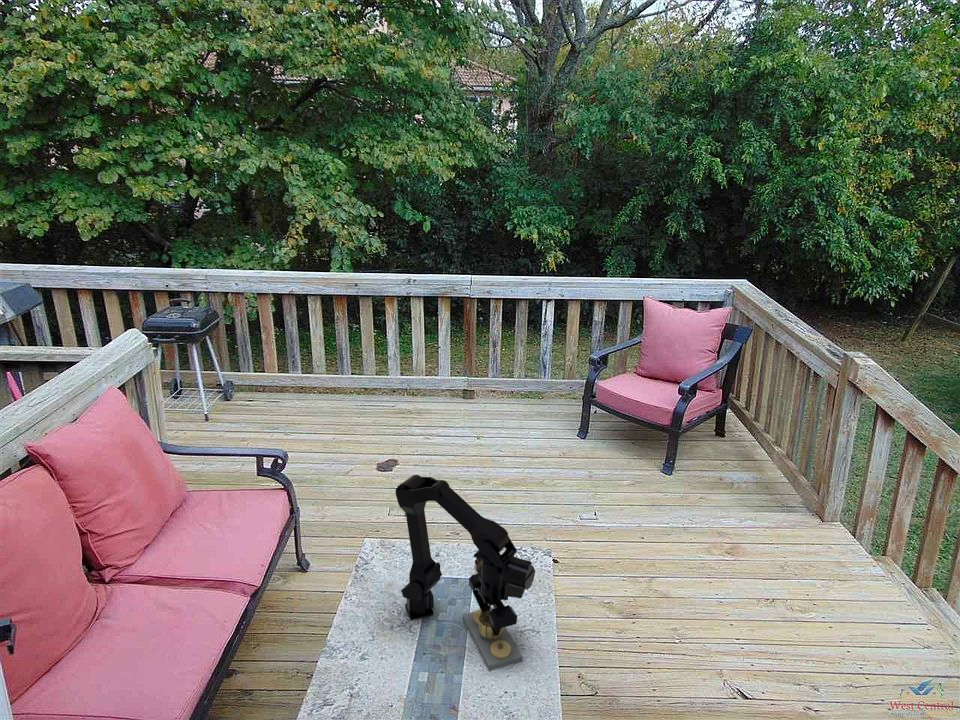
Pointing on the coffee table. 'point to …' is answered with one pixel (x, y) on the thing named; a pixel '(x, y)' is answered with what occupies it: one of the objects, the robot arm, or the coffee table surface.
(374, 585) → the coffee table surface
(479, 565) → the bolt
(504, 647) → the gear board
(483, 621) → the brass gear
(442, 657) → the coffee table surface
